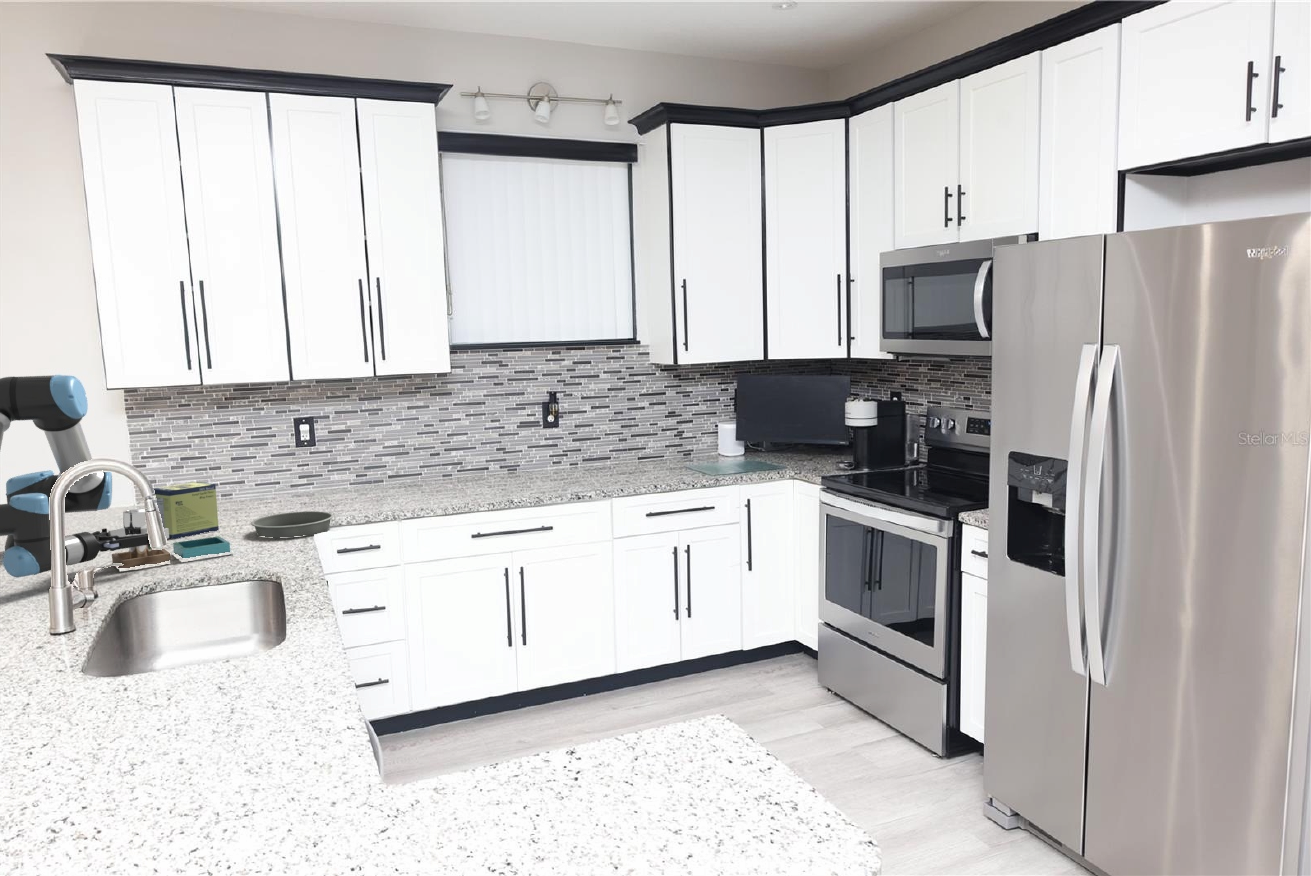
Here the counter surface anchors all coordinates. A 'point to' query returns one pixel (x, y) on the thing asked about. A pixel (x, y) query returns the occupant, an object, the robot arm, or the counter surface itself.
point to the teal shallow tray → (201, 547)
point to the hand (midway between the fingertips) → (149, 531)
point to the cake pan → (292, 524)
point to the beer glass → (136, 531)
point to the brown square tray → (141, 558)
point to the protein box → (188, 508)
